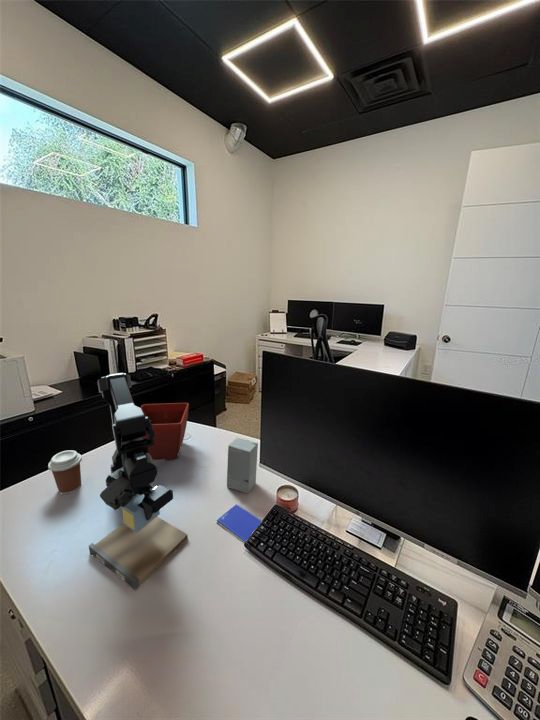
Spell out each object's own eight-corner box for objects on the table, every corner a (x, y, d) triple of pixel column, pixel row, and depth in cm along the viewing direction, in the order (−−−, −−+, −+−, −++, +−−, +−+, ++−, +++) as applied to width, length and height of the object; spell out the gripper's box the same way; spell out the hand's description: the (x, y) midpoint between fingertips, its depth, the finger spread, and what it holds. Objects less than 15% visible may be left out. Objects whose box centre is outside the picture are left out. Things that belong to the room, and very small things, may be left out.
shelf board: (89, 554, 75) (87, 546, 74) (143, 512, 89) (143, 505, 88) (134, 591, 66) (133, 583, 66) (187, 538, 80) (187, 531, 79)
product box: (147, 506, 81) (145, 488, 79) (159, 514, 79) (157, 495, 77) (123, 524, 75) (120, 505, 74) (136, 533, 73) (133, 513, 71)
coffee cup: (66, 500, 93) (59, 467, 90) (47, 492, 96) (39, 460, 93) (92, 482, 101) (87, 451, 98) (74, 475, 104) (68, 445, 101)
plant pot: (146, 439, 128) (142, 403, 124) (191, 437, 130) (189, 402, 126) (131, 466, 110) (126, 425, 105) (184, 464, 112) (181, 423, 107)
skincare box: (226, 487, 100) (225, 446, 95) (236, 475, 106) (235, 435, 102) (249, 494, 97) (249, 452, 92) (258, 481, 103) (258, 441, 99)
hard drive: (216, 519, 85) (248, 543, 78) (236, 503, 91) (268, 523, 84) (216, 524, 86) (248, 548, 78) (236, 507, 92) (268, 528, 85)
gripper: (80, 467, 70) (89, 521, 74) (130, 497, 61) (138, 556, 66) (123, 445, 80) (129, 494, 84) (172, 468, 71) (176, 522, 75)
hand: (141, 515), depth 77 cm, fingers closed on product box, 5 cm apart
